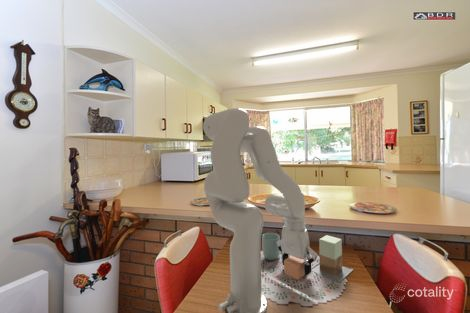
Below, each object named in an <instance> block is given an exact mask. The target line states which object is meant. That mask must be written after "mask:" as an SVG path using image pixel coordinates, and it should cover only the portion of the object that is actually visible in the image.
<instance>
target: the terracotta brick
mask: <svg viewBox="0 0 470 313" xmlns="http://www.w3.org/2000/svg"><path fill="white" fill-rule="evenodd" d="M305 264H306V263H305V262H304V260H303V259H299V258H296V257H294V256H291V255H289V257H288V258H287V259H285V260H284V265H283V273H284V275H287V276H289V277H291V278H293V279H295V280H297V281H298V280H300V279H302V278H303V277H304V276H306V275H305V271H304V265H305Z"/></svg>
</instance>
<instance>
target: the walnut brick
mask: <svg viewBox="0 0 470 313" xmlns="http://www.w3.org/2000/svg"><path fill="white" fill-rule="evenodd" d="M319 261H320V270H322V271H324V272H327V273H329V274H332V275H334V276H336V275H337V274H338V273H339V272H340V271H342V266H343V254H342V255H341V256H339V257H338V258H337V259H335V260H334V259H331V258H328V257H325V256H323V255H320V254H319Z"/></svg>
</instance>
